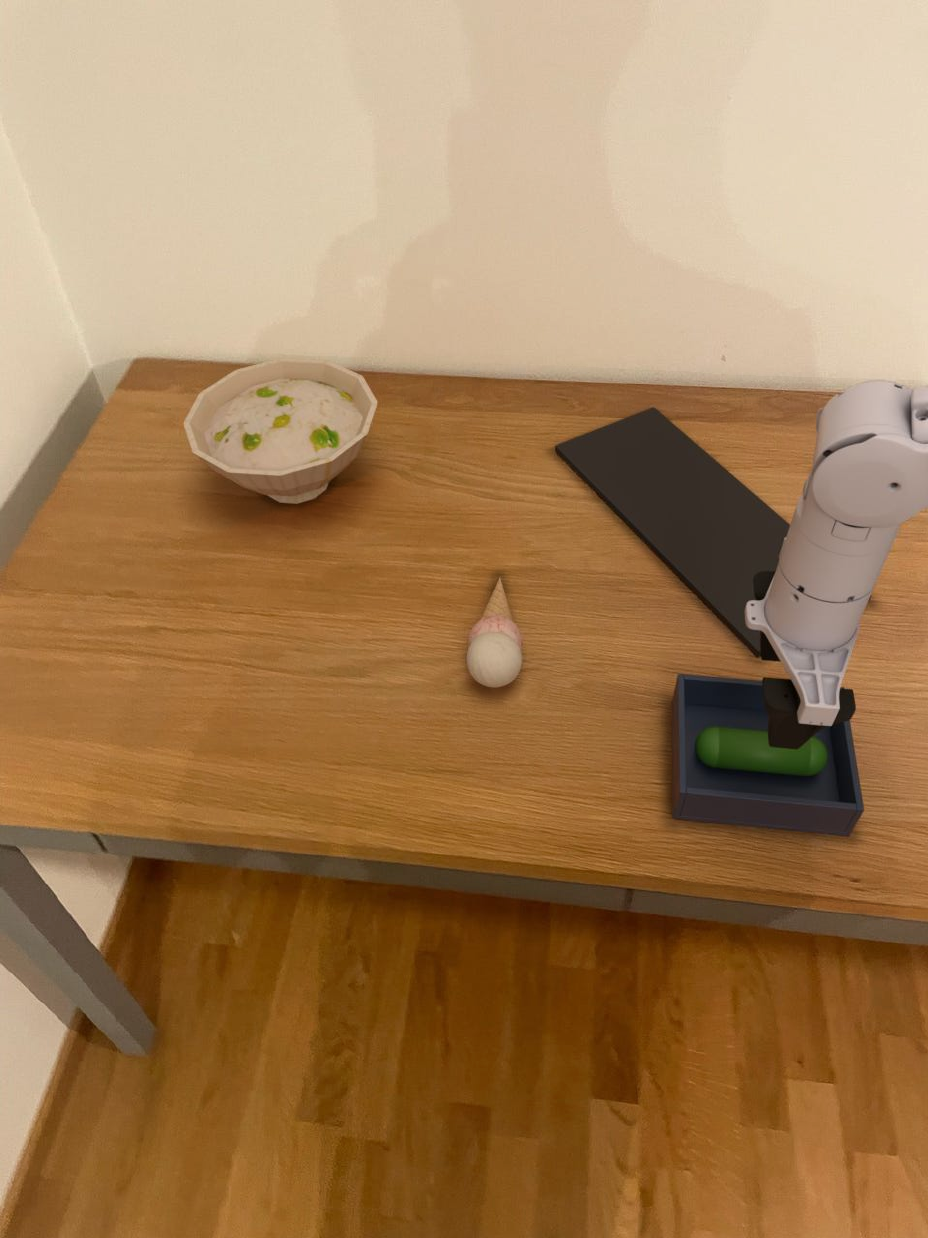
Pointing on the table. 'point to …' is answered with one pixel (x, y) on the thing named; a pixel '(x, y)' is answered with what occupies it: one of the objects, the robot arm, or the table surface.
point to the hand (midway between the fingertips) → (779, 699)
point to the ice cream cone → (495, 644)
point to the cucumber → (758, 752)
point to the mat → (683, 510)
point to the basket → (748, 794)
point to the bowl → (282, 426)
